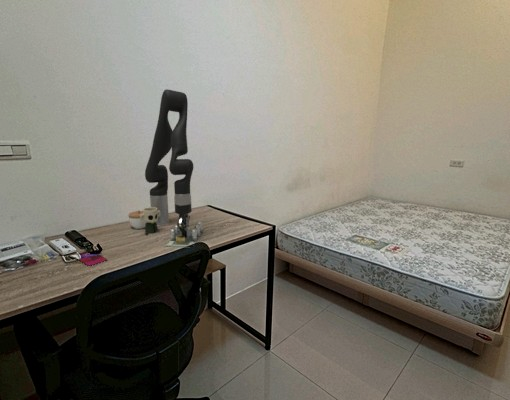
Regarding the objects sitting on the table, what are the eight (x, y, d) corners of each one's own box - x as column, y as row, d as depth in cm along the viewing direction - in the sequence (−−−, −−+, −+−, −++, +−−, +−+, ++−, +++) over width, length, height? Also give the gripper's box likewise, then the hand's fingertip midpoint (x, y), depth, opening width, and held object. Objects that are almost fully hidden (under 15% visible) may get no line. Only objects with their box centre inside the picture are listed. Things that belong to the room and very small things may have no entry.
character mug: (145, 237, 145) (143, 212, 142) (138, 234, 149) (136, 209, 146) (164, 232, 153) (163, 208, 150) (157, 229, 157) (156, 205, 154)
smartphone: (88, 266, 113) (71, 255, 122) (88, 268, 113) (71, 257, 122) (108, 259, 119) (90, 249, 128) (108, 261, 119) (91, 251, 128)
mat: (165, 248, 132) (165, 245, 132) (181, 230, 155) (181, 228, 155) (192, 249, 131) (191, 246, 131) (203, 231, 155) (203, 228, 154)
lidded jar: (127, 226, 161) (125, 209, 159) (146, 223, 168) (145, 207, 165) (132, 231, 153) (131, 214, 151) (153, 227, 159) (152, 211, 157)
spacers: (169, 241, 138) (169, 229, 137) (179, 230, 152) (178, 220, 151) (196, 241, 138) (195, 230, 136) (203, 231, 152) (203, 221, 151)
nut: (176, 244, 134) (176, 238, 133) (175, 241, 138) (175, 235, 137) (185, 243, 135) (185, 237, 134) (184, 240, 139) (184, 234, 139)
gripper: (179, 198, 142) (180, 232, 147) (170, 205, 130) (172, 242, 134) (194, 199, 142) (195, 233, 146) (187, 206, 129) (188, 243, 133)
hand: (184, 237), depth 140 cm, fingers closed
